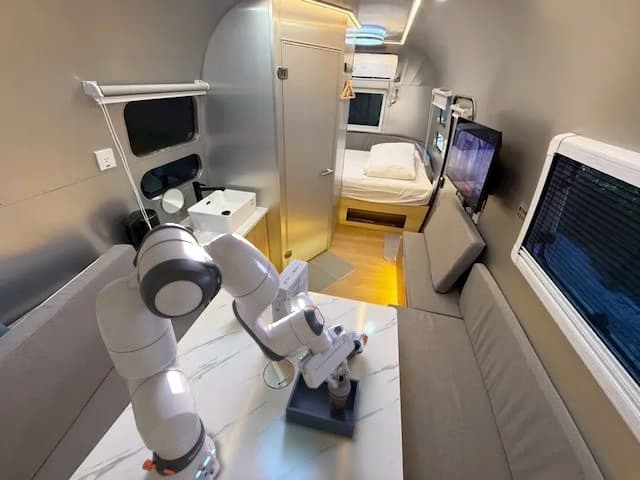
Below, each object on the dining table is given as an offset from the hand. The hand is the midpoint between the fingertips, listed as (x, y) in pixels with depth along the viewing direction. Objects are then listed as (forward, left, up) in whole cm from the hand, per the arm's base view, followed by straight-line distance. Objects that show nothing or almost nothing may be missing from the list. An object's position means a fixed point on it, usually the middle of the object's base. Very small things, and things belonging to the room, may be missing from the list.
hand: (342, 380), depth 84 cm
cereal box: (+37, +29, -16) cm, 50 cm away
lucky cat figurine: (+24, +1, -16) cm, 29 cm away
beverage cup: (0, +1, -15) cm, 16 cm away
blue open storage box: (0, +5, -16) cm, 17 cm away
